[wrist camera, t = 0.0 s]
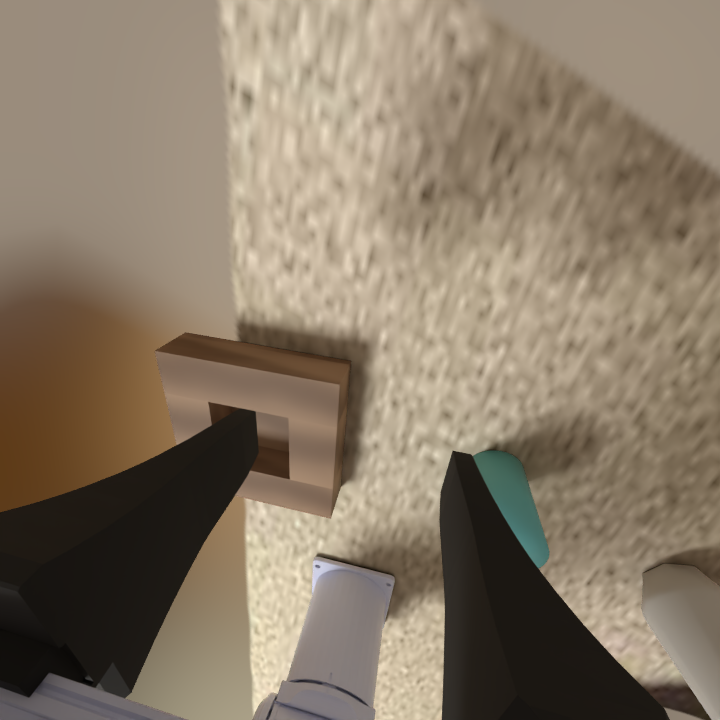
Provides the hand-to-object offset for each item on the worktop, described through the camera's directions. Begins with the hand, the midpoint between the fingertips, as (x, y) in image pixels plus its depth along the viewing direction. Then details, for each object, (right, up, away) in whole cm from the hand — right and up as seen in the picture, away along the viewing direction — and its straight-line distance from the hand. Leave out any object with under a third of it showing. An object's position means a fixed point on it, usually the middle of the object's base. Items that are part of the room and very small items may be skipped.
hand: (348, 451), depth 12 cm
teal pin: (+10, -5, +12) cm, 16 cm away
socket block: (-7, -1, +14) cm, 15 cm away
